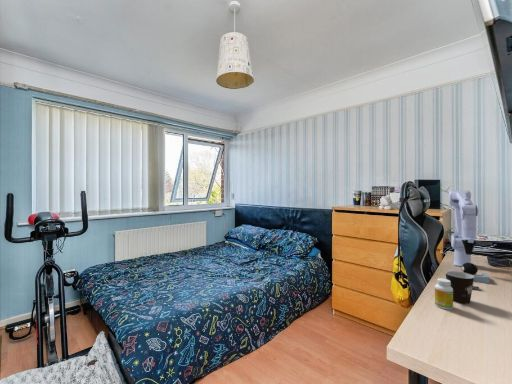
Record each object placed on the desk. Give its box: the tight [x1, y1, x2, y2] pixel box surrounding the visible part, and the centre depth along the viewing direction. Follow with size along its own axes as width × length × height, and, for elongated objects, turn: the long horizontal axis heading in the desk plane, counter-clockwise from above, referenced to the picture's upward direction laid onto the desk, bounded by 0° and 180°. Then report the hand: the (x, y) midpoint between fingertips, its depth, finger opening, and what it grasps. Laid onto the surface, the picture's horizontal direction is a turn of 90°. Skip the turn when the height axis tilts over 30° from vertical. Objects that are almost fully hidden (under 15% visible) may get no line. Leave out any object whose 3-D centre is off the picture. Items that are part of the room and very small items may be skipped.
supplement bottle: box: [434, 277, 454, 310], centre depth 92 cm, size 5×5×10 cm
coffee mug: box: [445, 270, 475, 305], centre depth 98 cm, size 12×9×10 cm
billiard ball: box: [461, 262, 479, 275], centre depth 127 cm, size 6×6×6 cm
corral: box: [455, 268, 490, 284], centre depth 122 cm, size 8×11×2 cm
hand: (468, 254), depth 130 cm, fingers closed
